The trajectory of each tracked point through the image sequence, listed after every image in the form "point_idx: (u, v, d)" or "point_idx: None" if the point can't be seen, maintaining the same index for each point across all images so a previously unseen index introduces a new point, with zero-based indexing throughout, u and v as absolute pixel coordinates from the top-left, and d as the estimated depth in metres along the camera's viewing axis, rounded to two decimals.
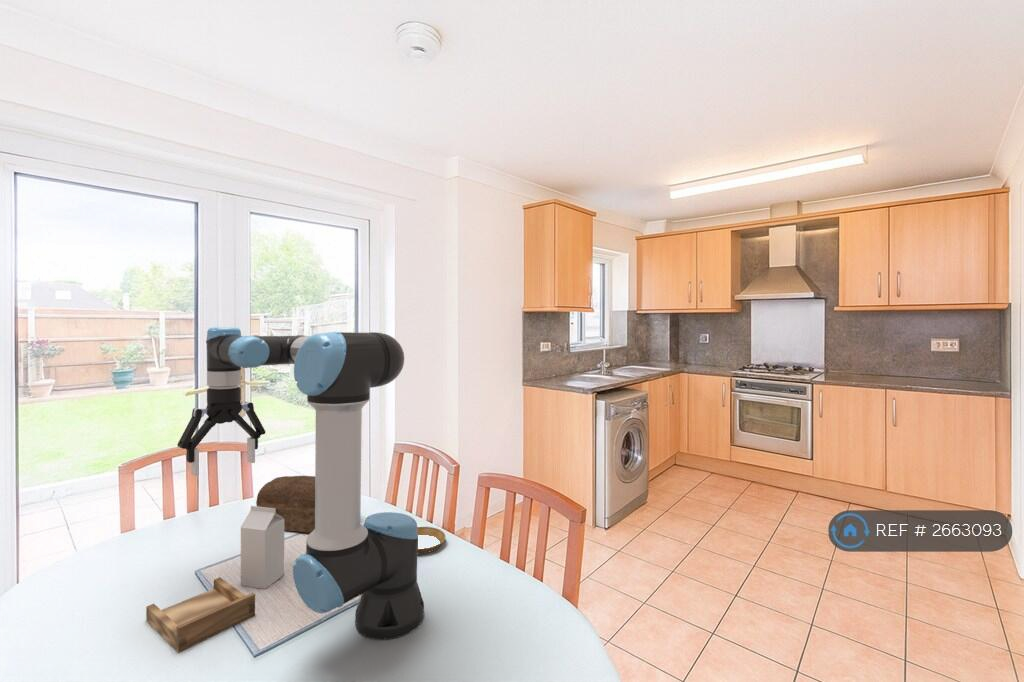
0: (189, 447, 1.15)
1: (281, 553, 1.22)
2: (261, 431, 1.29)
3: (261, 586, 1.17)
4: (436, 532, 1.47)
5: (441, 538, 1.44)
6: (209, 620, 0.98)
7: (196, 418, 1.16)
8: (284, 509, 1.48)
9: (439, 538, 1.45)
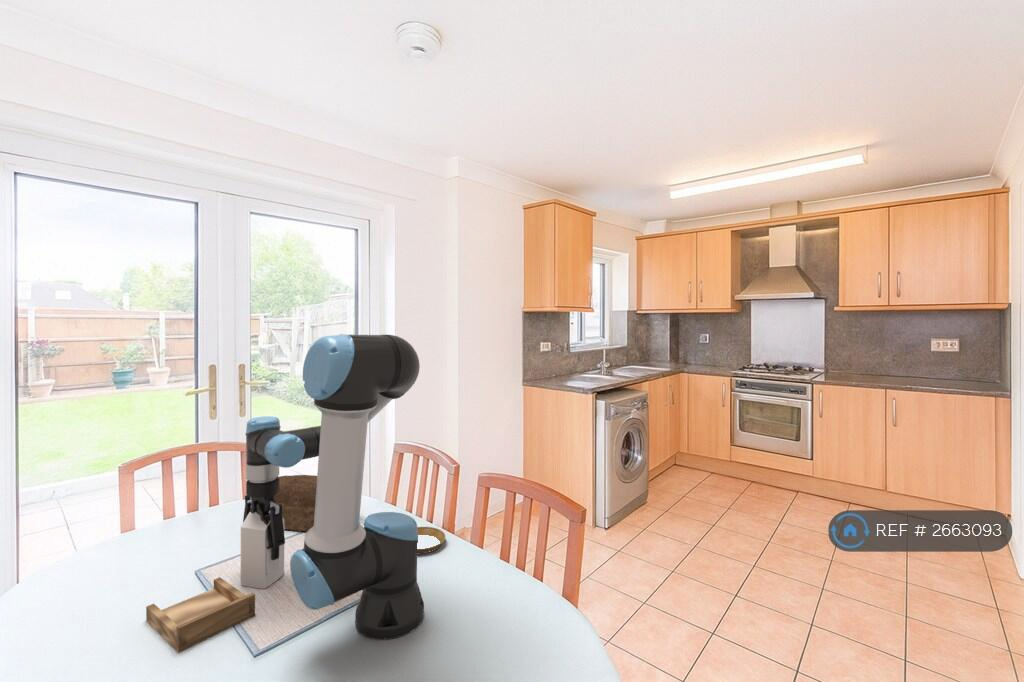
0: None
1: (281, 553, 1.22)
2: (273, 542, 1.15)
3: (261, 586, 1.17)
4: (436, 532, 1.47)
5: (441, 538, 1.44)
6: (209, 620, 0.98)
7: (245, 504, 1.23)
8: (284, 508, 1.49)
9: (439, 538, 1.45)
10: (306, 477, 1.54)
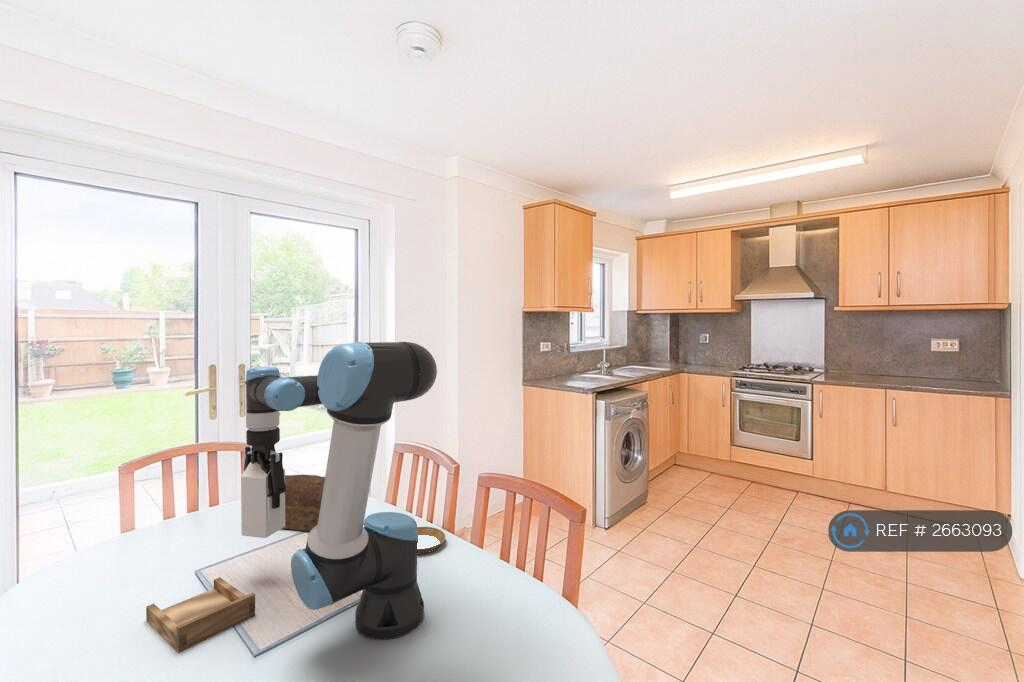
0: None
1: (282, 504, 1.21)
2: (274, 490, 1.15)
3: (262, 535, 1.16)
4: (436, 532, 1.47)
5: (441, 538, 1.44)
6: (209, 620, 0.98)
7: (245, 455, 1.22)
8: None
9: (439, 538, 1.45)
10: (306, 477, 1.54)
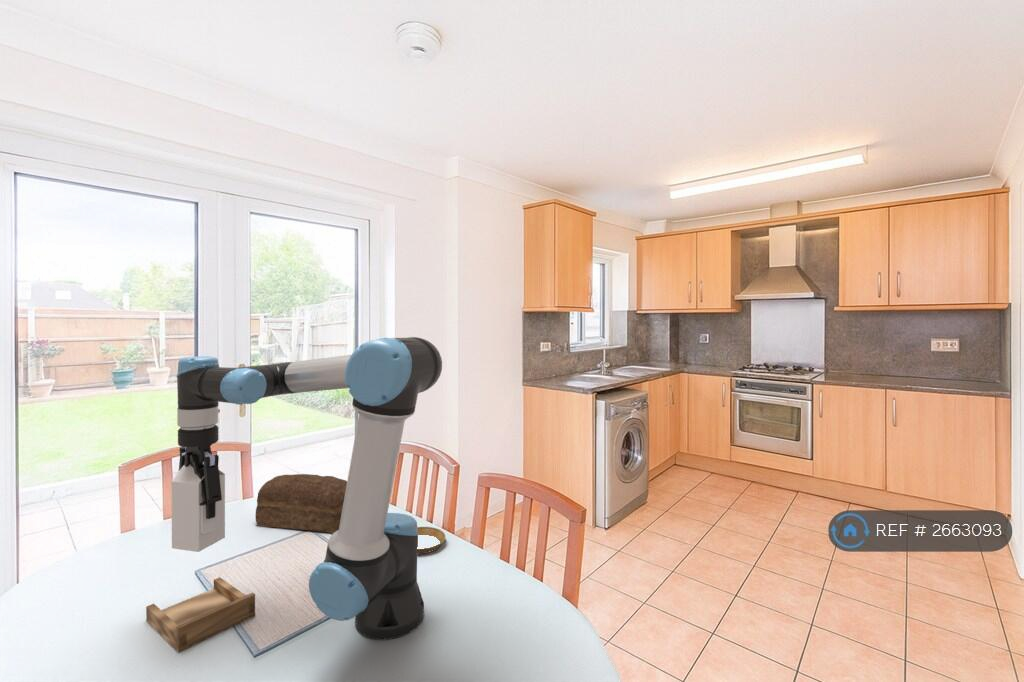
0: None
1: (221, 513, 1.07)
2: (207, 498, 1.00)
3: (194, 549, 1.01)
4: (436, 532, 1.47)
5: (441, 538, 1.44)
6: (209, 620, 0.98)
7: (180, 457, 1.07)
8: (285, 507, 1.50)
9: (439, 538, 1.45)
10: (306, 476, 1.55)
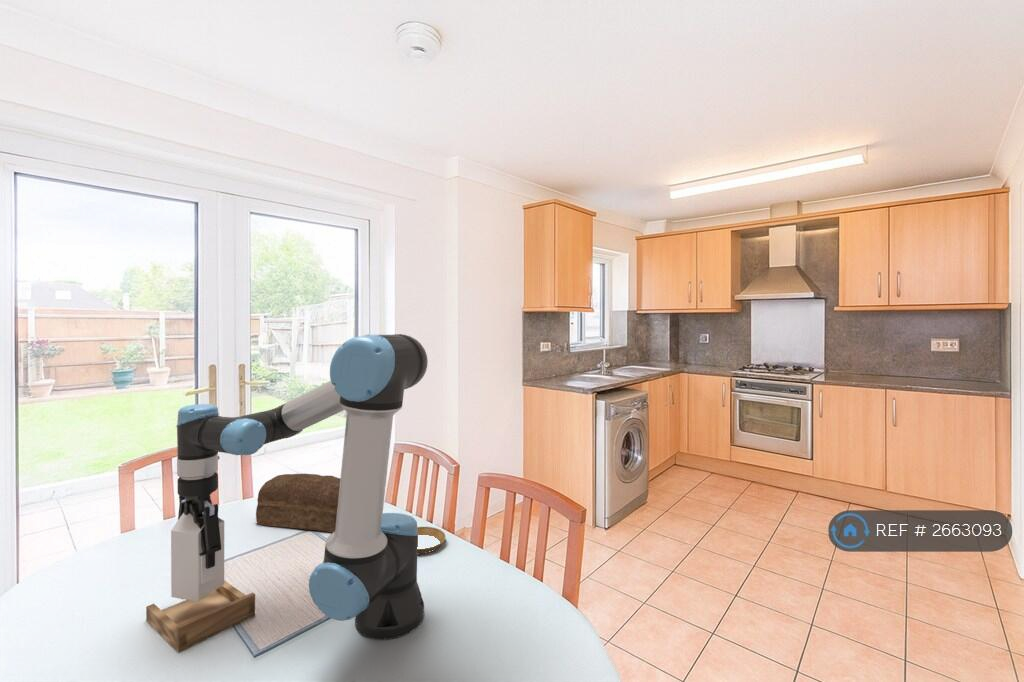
0: None
1: (221, 560, 1.07)
2: (206, 548, 1.00)
3: (194, 598, 1.02)
4: (436, 532, 1.47)
5: (441, 538, 1.44)
6: (209, 620, 0.98)
7: (179, 504, 1.08)
8: (285, 506, 1.50)
9: (439, 538, 1.45)
10: (306, 476, 1.55)
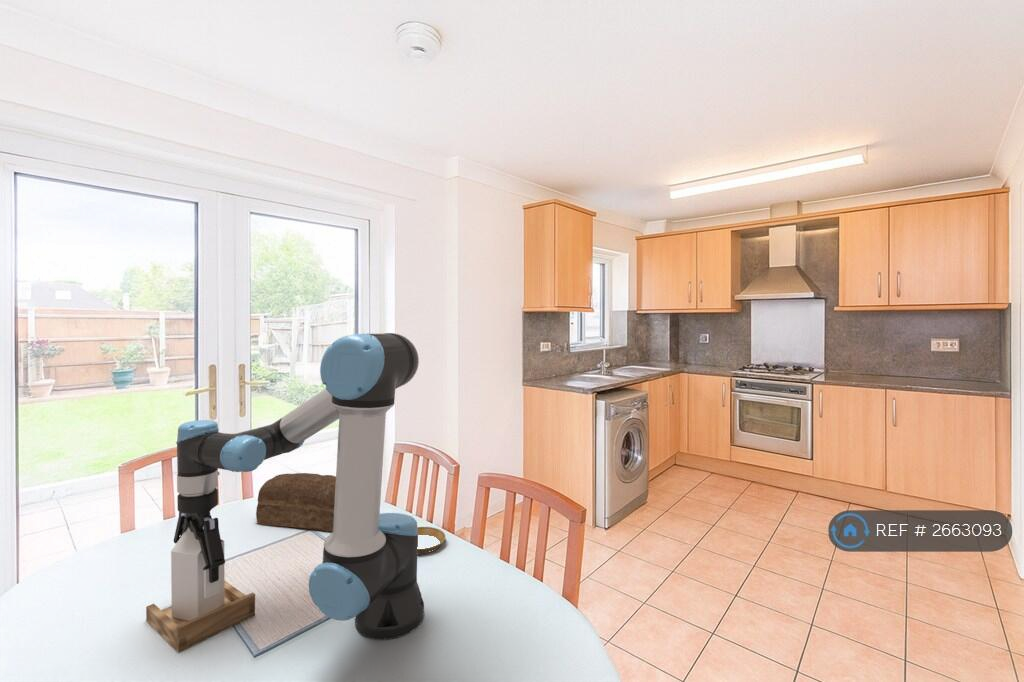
0: None
1: (221, 580, 1.07)
2: (210, 563, 0.99)
3: None
4: (436, 532, 1.47)
5: (441, 538, 1.44)
6: (209, 620, 0.98)
7: (179, 516, 1.08)
8: (285, 505, 1.51)
9: (439, 538, 1.45)
10: (306, 475, 1.56)
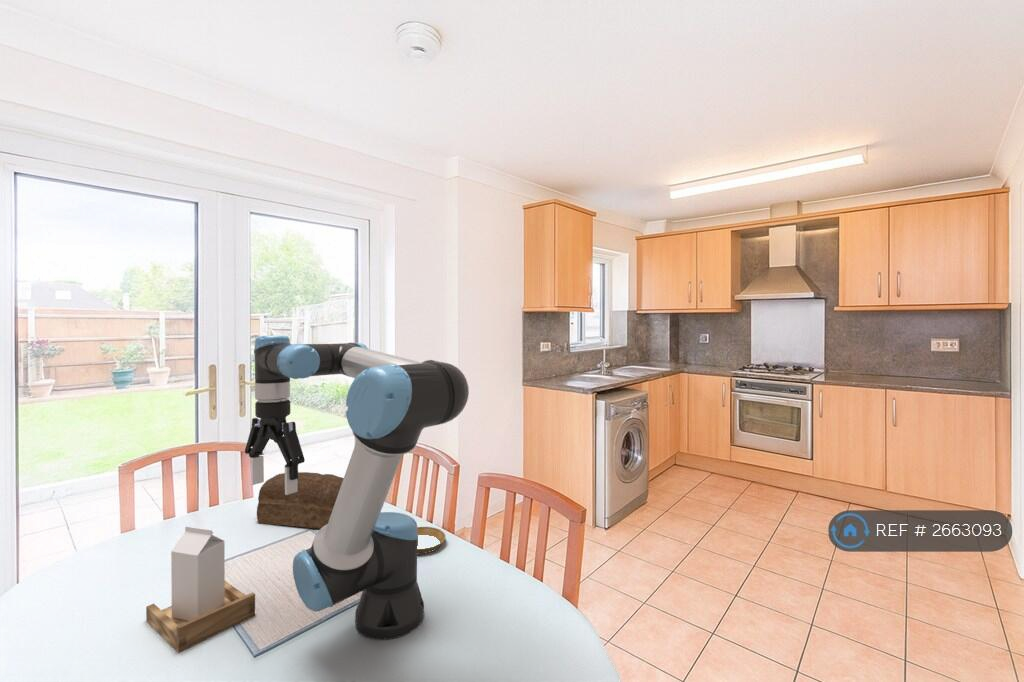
0: None
1: (221, 580, 1.07)
2: (292, 460, 1.07)
3: None
4: (436, 532, 1.47)
5: (441, 538, 1.44)
6: (209, 620, 0.98)
7: (252, 427, 1.15)
8: (285, 504, 1.52)
9: (439, 538, 1.45)
10: (307, 474, 1.57)
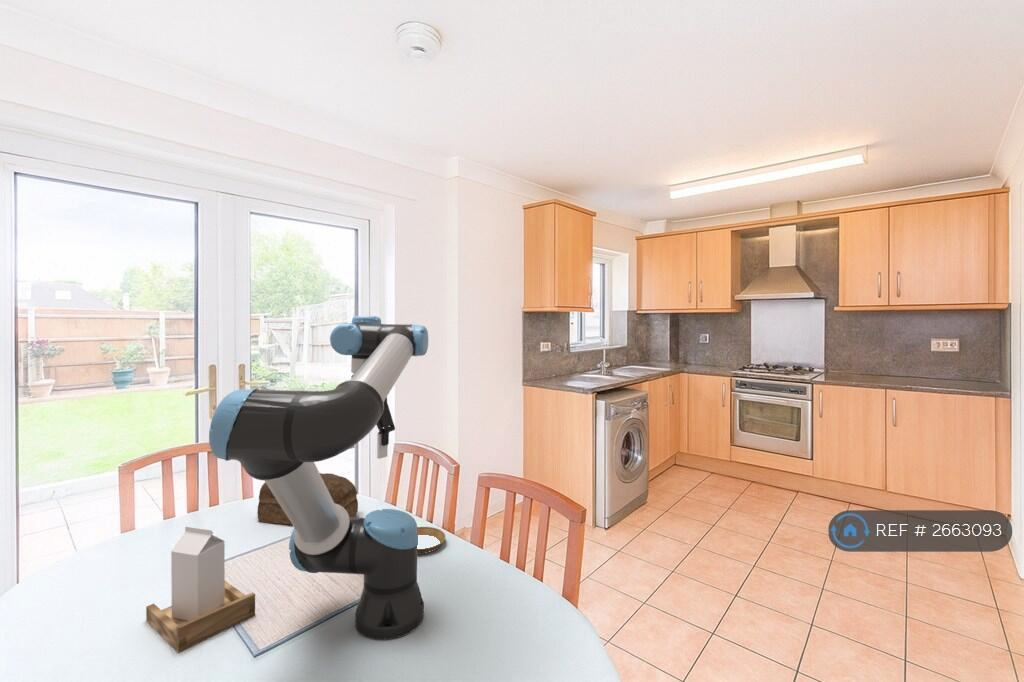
0: None
1: (221, 580, 1.07)
2: (384, 428, 1.20)
3: None
4: (436, 532, 1.47)
5: (441, 538, 1.44)
6: (209, 620, 0.98)
7: None
8: None
9: (439, 538, 1.45)
10: None
